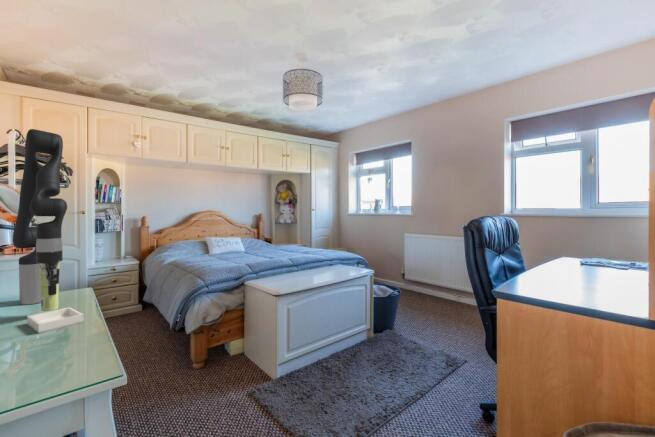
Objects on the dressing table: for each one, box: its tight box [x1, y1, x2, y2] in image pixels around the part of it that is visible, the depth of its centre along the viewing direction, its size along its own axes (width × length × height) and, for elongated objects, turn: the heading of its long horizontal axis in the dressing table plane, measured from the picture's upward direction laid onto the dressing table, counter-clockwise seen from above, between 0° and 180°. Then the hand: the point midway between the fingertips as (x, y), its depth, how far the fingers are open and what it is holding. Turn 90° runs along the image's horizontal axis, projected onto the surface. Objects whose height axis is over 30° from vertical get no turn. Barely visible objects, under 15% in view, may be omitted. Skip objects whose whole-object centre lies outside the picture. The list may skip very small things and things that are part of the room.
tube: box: [40, 260, 61, 312], centre depth 117 cm, size 6×5×20 cm
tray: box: [26, 306, 85, 334], centre depth 109 cm, size 14×12×3 cm
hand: (50, 293), depth 117 cm, fingers closed on tube, 5 cm apart
